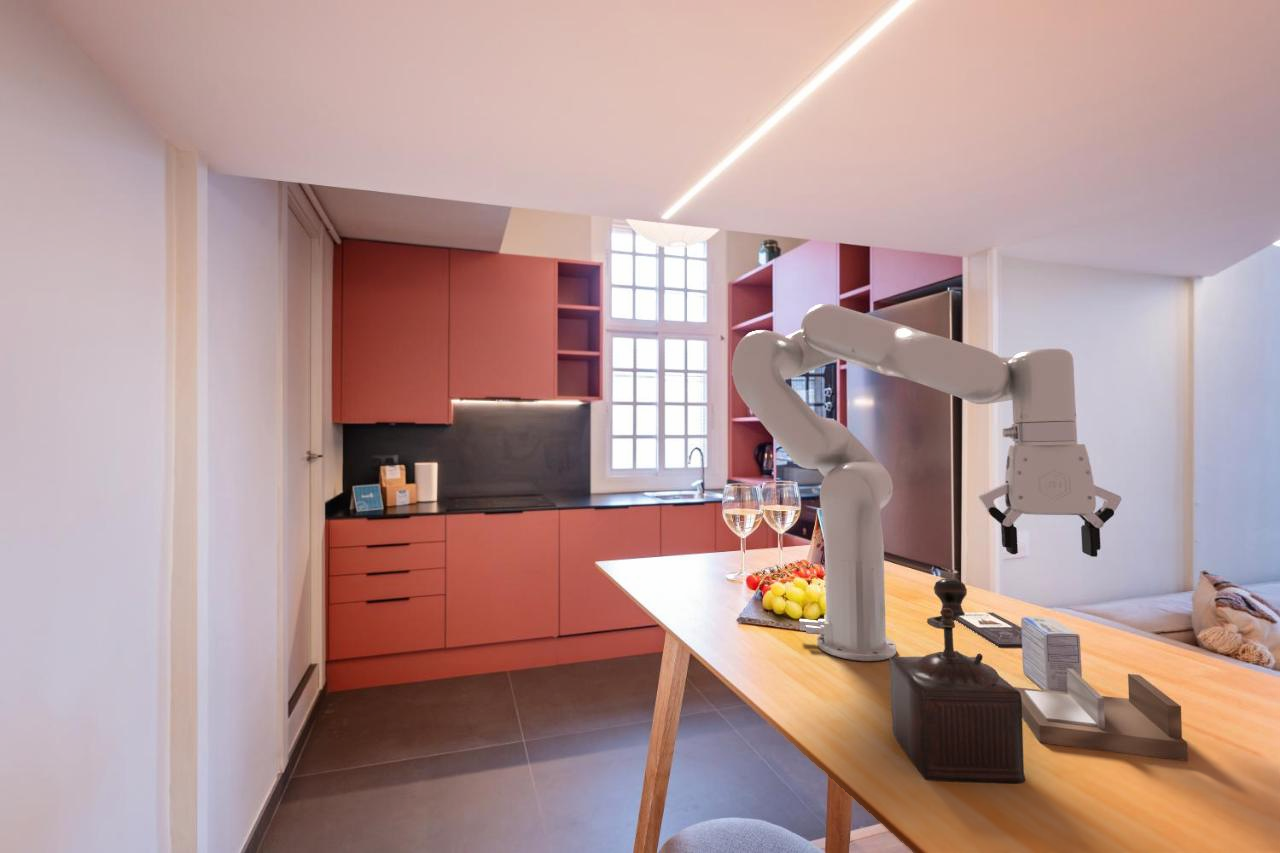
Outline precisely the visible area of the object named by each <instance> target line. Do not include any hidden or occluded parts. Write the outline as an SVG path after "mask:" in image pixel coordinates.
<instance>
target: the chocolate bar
mask: <svg viewBox="0 0 1280 853" xmlns="http://www.w3.org/2000/svg"><path fill="white" fill-rule="evenodd" d="M964 613H965V615H964V616H958V618H957V619H955V620H956V621H955V622H957V621H958V622H957V623H959V624H960V623H961V624H960V625H962V624H963V625H964V626H963V625H962V626H963V627H965V626H966V627H965V628H967V629H968V628H969V629H968V630H970V629H971V630H972V632H973V631H974V632H973V633H975V634H976V633H977V634H976V635H978V636H979V635H980V637H981V636H982V637H981V638H983V639H984V638H985V640H986V641H987V640H988V641H987V642H989V643H991V644H992V643H993V644H992V645H994V644H995V645H994V646H996V647H997V646H998V647H997V648H1022V631H1021V626H1019V625H1017V624H1015V623H1014V622H1012V621H1009V620H1008V619H1005V618H1004V617H1002V616H1000V615H998V614H997V613H994V612H964ZM971 630H970V631H971Z"/></svg>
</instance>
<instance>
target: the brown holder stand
mask: <svg viewBox="0 0 1280 853" xmlns="http://www.w3.org/2000/svg"><path fill="white" fill-rule="evenodd" d="M1127 679H1128V681H1127V682H1128V684H1127V686H1128V698H1126V697H1116V696H1115V697H1114V696H1106V695H1101V694H1100V693H1099V692H1098V691H1097V690H1095V688H1093V687H1092V686H1091V685H1090V684H1089V683H1088V682H1087V681H1086V680H1085V679H1084V678H1083V676H1082V677H1081V676H1079V675H1078V674H1077V673H1076V672H1075V671H1074V670H1073V669H1069V668H1067V687H1068V692H1058V691H1048V690H1043V689H1039V688H1037V689H1036V688H1027V687H1017V686H1013V687H1014V688H1015V689H1016V690H1018V691H1019V692H1020V694H1021V698H1022V720H1023V721H1024V722H1025V724H1026V725H1027V726H1028V728H1029V729H1030V730H1031V733H1032V734H1033V735H1034V736H1035V737H1036V739H1037V741H1038V742H1039V743H1042V744H1051V745H1057V746H1065V747H1067V746H1068V747H1075V748H1084V749H1090V750H1097V751H1106V752H1107V751H1108V752H1113V753H1114V752H1115V753H1121V754H1122V753H1123V754H1131V755H1139V756H1146V757H1154V758H1161V759H1163V758H1164V759H1169V760H1177V761H1185V762H1188V761H1189V755H1188V754H1189V753H1188V752H1189V750H1188V742H1187V741H1186V740H1185V739H1184V738H1183V731H1182V730H1183V727H1182V705H1180V704H1179V703H1177V702H1176V701H1175V700H1174V699H1172V698H1171V697H1170V696H1168V695H1166V694H1165V693H1164V692H1163V691H1161V689H1159V688H1158V687H1156V686H1155V685H1154V684H1152V683H1151V682H1150V681H1148V680H1147V679H1146V678H1144V677H1143V676H1142V675H1140V674H1133V673H1127Z"/></svg>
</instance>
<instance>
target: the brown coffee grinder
mask: <svg viewBox="0 0 1280 853" xmlns="http://www.w3.org/2000/svg"><path fill="white" fill-rule="evenodd" d="M933 590H934V591H933V592H934V594H935V595H936V596H937V597H938V598H939V599H940V602H941V604H942V606H941V610H940V611H939V612H940V615H939V616H934V617H932V616H931V617H928V618H927V619H926V623H927V624H928V625H929V626H931V627H933V628H935V629H940V630H943V638H944V639H943V640H944V642H943V644H944V649H943V651H937V652H933V653H930V654H926V655H924V656H893V657H890V658H889V682H890V683H889V684H890V688H889V689H890V705H891V708H890V710H891V720H892V722H891V723H892V727H891V729H892V732H893V734H894V738H895V740H896V742H897V744H898V745H899V746H900V748H901V749H902V751H903V752H904V753H905V755H906V756H907V758H908V759H909V761H910V762H911V763H912V765H913V766H914V767H915V768H916V769H917V771H918V772H919V773H920V775H921V776H922V777H923V779H924V780H930V781H931V780H932V781H941V782H958V783H959V782H961V783H962V782H963V783H965V782H966V783H968V782H969V783H989V784H990V783H993V784H996V783H997V784H1021V783H1025V782H1026V781H1027V780H1026V777H1025V771H1024V770H1025V768H1024V738H1023V735H1024V733H1023V732H1024V730H1023V729H1024V728H1023V718H1022V698H1021V694H1020V692H1019V691H1018V690H1016V689H1015V688H1014V687H1015V686H1013V685H1012V684H1010V683H1009V682H1008V681H1007V680H1005V679H1004V678H1003V677H1002V676H1000V675H999V673H998V672H997V670H996V669H995V668H994V667H992V666H991V665H989V664H986V663H983V662H982V660H983V654H981V653H978V654H976V656H967V655H966V654H964V653H963V654H962V653H961V652H959V651H958V650H954V649H955V648H954V633H953V631H954V630H953V629H955V628H956V624H955V622H956V621H955V619H957V618H958V616H964V615H965V613H966V612H964V610H963V608H962V607H963V606H962V604H963V600H964V599H965V597H966V596H967V594H968V589H967V587H966V584H965V583H963V582H962V581H960V580H959V579H957V578H941V579H940V580H937V581H936V582H935V583H934V587H933Z"/></svg>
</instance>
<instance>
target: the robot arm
mask: <svg viewBox="0 0 1280 853" xmlns="http://www.w3.org/2000/svg"><path fill="white" fill-rule="evenodd" d="M838 360H842V361H845V362H847V363H850V364H853V365H856V366H858V367H862V368H864V369H867V370H870V371H873V372H876V373H878V374H882V375H884V376H888V377H896V378H901V379H906V380H909V381H912V382H915V383H918V384H921V385H923V386H925V387H929V388H932V389H935V390H938V391H941V392H943V393H946V394H949V395H952V396H953V397H957V398H959V399H962V400H965V401H967V402H969V403H972V404H975V405H990V404H994V403H995V404H997V403H1001V402H1006V401H1007V402H1008V401H1012V402H1011V403H1012V422H1013V424H1011V427H1008V428H1007V427H1005V428H1003V429H1002V437H1003V438H1009V439H1011V440H1012V442H1014V444H1013V445H1011V444H1010V445H1009V447H1008V451H1007V456H1006V457H1007V458H1006V465H1005V479H1004V483H1002V484H1000V485H997V486H996V487H994V488H992V489H989V490H988V491H985V492H984V493H982V494H979V496H978V499H979V501H980V502H981V504H982V505H983V507H984V508H985V510H986V512H987V513H988V515H989V516H991V517H992V518H993V519H995V521H997V522H998V524H1000V531H1001V545H1002V547H1003V548H1005V550H1006V552H1007V553H1009V554H1010V555H1017V554H1018V553H1019V548H1018V529H1017V527H1016V526H1014V525H1015V524H1014V523H1015V522H1016V521H1017V520H1018V519H1019V517H1021V516H1022V514H1023V515H1036V516H1037V515H1039V516H1055V515H1056V516H1078V518H1080V519H1081V520H1082V521H1083V522H1084V523H1083V524H1082V525H1081V526H1080V529H1081V530H1080V531H1081V550H1082V553H1083V554H1085V555H1087V556H1090V557H1093V558H1094V557H1095V558H1097V557H1098V551H1100V550H1101V548H1102V546H1101V531H1100V530H1101V529H1102V528H1103V527H1104V525H1105V523H1107V522H1108V521H1109V520H1110V519H1111V518H1112V517H1113V516H1114V515H1115V511H1117V509H1118V506H1120V503H1121V501H1122V497H1121V496H1120V495H1118V494H1117V493H1114V492H1112V491H1110V490H1107V489H1105V488H1102V487H1099V486H1097V485H1095V483H1094V477H1093V476H1094V475H1093V472H1092V466H1091V463H1090V461H1091V460H1090V457H1089V455H1088V453H1089V452H1088V451H1087V447H1086V444H1084V443H1078V432H1077V427H1078V426H1077V411H1076V410H1077V409H1076V391H1075V390H1076V389H1075V388H1076V387H1075V369H1074V366H1075V364H1074V358H1073V355H1072V353H1071V352H1070V351H1069V350H1067V349H1063V348H1042V349H1041V348H1040V349H1033V350H1027V351H1026V350H1025V351H1022V352H1019V353H1017V354H1015V355H1014V356H1010V357H1009V356H1008V357H1003V356H1001V357H1000V356H999V355H997V354H996V353H994V352H992V351H989V350H987V349H985V348H980V347H977V346H974V345H971V344H967V343H965V342H960V341H957V340H954V339H950V338H947V337H944V336H940V335H937V334H934V333H929V332H926V331H922V330H919V329H916V328H913V327H911V326H908V325H905V324H902V323H901V324H900V323H897V322H894V321H890V320H886V319H883V318H880V317H877V316H873V315H870V314H866V313H863V312H860V311H857V310H853V309H850V308H847V307H844V306H840V305H837V304H833V303H832V304H831V303H823V304H820V303H819V304H818V305H815V306H813V307H812V308H810V309H809V310H808V311H807V312H806V314H805V315H804V317H803V318H802V320H801V324H800V330H798V331H795V332H794V333H791V334H789V335H787V336H786V335H784V334H781V333H778V332H775V331H772V330H766V329H760V330H754V331H751V332H749V333H747V334H746V335H745V336H743V337H742V338H741V339H740V341H739V342H738V344H737V346H736V348H735V349H734V353H733V356H732V363H731V375H732V379H733V380H732V381H733V383H734V387H735V389H736V391H737V393H738V395H739V397H740V399H741V400H742V401H743V403H744V404H745V405H746V406H747V408H748V409H749V410H750V412H752V414H753V415H754V416H755V417H756V418H757V419H758V420H759V422H760V423H761V424H762V425H763V427H764V428H765V429H766V431H767V432H768V433H769V434H770V436H772V438H774V439H773V440H775V442H776V443H777V444H778V445H779V447H780V448H782V450H783V451H784V452H785V454H786V455H787V456H788V457H789V458H790V459H791V460H792V462H793V463H794V464H796V465H797V466H798V467H800V468H802V469H803V468H804V469H806V470H818V472H820V474H822V476H823V477H824V478H823V480H822V482H821V485H820V489H819V503H820V504H819V505H820V511H821V518H822V524H823V541H824V543H823V544H824V549H823V550H824V570H825V572H824V574H825V575H824V581H825V582H824V583H825V585H824V586H825V614H824V615H823V618H818V620H811V619H808V618H799V630H800V631H806V632H805V633H806V634H807V635H818V636H817V639H816V640H817V642H816V643H817V646H818V648H819V649H821V651H823V652H825V653H827V654H829V655H830V656H834V657H837V658H842V659H846V660H852V661H861V662H877V661H884V660H888V659H890V657H895V655H896V654H897V645H896V643H895V642H894V641H893V640H892V639H890V638H889V637H886V636H887V635H886V634H887V633H886V594H885V593H886V592H885V591H886V590H885V589H886V588H885V587H886V586H885V583H886V582H885V555H884V554H885V551H884V548H885V547H884V546H885V545H884V534H883V524H882V519H881V517H882V516H881V510H882V509H883V508H884V507H885V506H886V505H887V504H889V502H890V500H891V499H892V497H893V494H894V493H893V492H894V491H893V490H894V485H893V480H892V477H891V475H890V473H889V472H888V470H887V469H886V468H885V466H884V465H883V464H882V463H881V462H880V461H879V460H878V459H877V458H876V457H875V456H874V455H873V454H872V453H871V451H870V450H868V448H866V446H865V445H864V444H863V443H862V442H861V441H860V439H858V438H857V437H856V435H854V434H853V432H851V431H850V429H849V428H848V427H846V426H845V425H844V424H843V423H841V422H839V421H838V420H835V419H833V418H829V417H823V416H820V415H819V414H818V413H816V411H814V410H813V409H812V407H810V406H809V404H808V403H806V401H805V399H803V398H802V397H801V395H800V394H799V393H798V392H797V391H796V390H795V389H794V388H793V387H791V386H790V385H789V383H787V382H786V381H787V380H790V379H794V378H797V377H800V376H802V375H805V374H808V373H809V372H812V371H814V370H817V369H819V368H821V367H824V366H826V365H830V364H831V363H833V362H836V361H838ZM785 380H786V381H785ZM1002 496H1004V500H1005V506H1006V508H1005V510H1004V511H1003V512H1002V511H1000V509H999V508H997V506H996V505H995V502H994V501H995V500H996V499H999V498H1000V497H1002ZM1096 497H1097V498H1099V499H1102V501H1103V504H1102V506H1101V507H1100V508H1098V510H1096V507H1097V506H1096V505H1097V502H1096V500H1097V499H1096ZM1095 510H1096V511H1095Z"/></svg>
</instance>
